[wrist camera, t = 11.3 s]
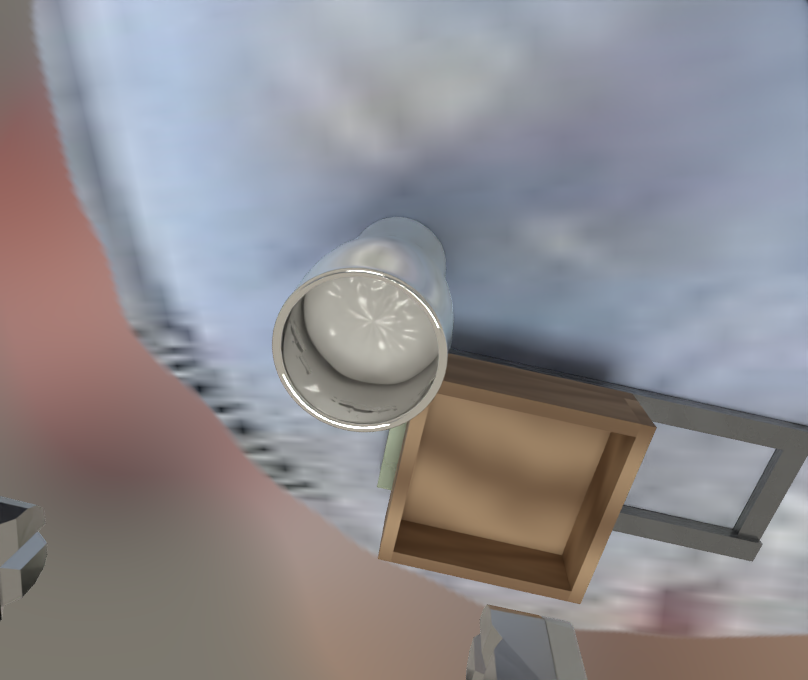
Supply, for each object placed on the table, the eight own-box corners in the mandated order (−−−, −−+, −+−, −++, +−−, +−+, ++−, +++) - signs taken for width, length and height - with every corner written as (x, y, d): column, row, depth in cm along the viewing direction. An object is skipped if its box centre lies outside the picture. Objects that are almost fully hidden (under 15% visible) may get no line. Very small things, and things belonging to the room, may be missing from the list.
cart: (426, 335, 34) (420, 375, 28) (621, 377, 33) (656, 427, 28) (389, 495, 38) (377, 558, 32) (560, 533, 38) (580, 604, 32)
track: (409, 339, 35) (407, 350, 33) (814, 427, 35) (835, 444, 33) (380, 470, 39) (377, 487, 37) (745, 551, 39) (760, 572, 37)
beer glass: (385, 336, 35) (340, 466, 21) (321, 250, 34) (227, 328, 20) (474, 280, 33) (490, 382, 19) (412, 185, 32) (380, 222, 18)
